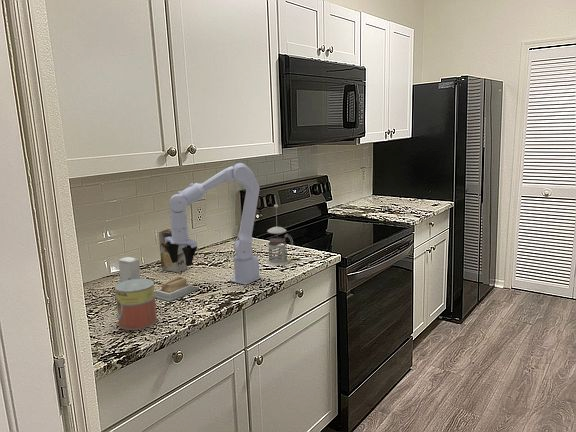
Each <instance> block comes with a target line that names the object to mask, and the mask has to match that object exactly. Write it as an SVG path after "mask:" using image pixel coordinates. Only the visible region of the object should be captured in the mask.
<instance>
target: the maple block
mask: <svg viewBox="0 0 576 432" xmlns="http://www.w3.org/2000/svg"><path fill="white" fill-rule="evenodd" d="M187 283H188V282H187V278H186V277H182V276H177V277H174V278H171V279H169V280H166V281H163V282H161V288H162V291H163V292H167V293H171V292H174V291H176V290H179V289H181V288H184V287H186V286H187Z"/></svg>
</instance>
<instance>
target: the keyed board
mask: <svg viewBox="0 0 576 432" xmlns="http://www.w3.org/2000/svg"><path fill="white" fill-rule="evenodd" d="M199 290H200V287H199V288H198V287H194V284H192V283H188V282H187V286H186V287H184V288H181V289H179V290H176V291H174V292H171V293H167V292H163V291H162V287H161V288H159V289H158V288H157V289H156V290H155V289H154V292H155V299H158V300H161V301H164V302H168V303H170V302H173V301H175V300H177V299H180V298H182V297H184V296H187V295H189V293H190V294H192V293H194V292H196V291H199Z"/></svg>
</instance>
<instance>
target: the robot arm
mask: <svg viewBox="0 0 576 432" xmlns="http://www.w3.org/2000/svg"><path fill="white" fill-rule="evenodd" d="M234 180H235V181H236V182H238V183H239V184H240V185H242V186H243V188H244V189H245V195H244V202H243V207H242V208H243V209H242V212H241V213H242V214H241V221H240V225H239V232H238V234H237V238H236V240H235V241H234V243H233V248H234V251H235V254H234V256H233V267H234V269H233V270H234V278H231V279H229V282H232V283H237V284H241V285H245V286H246V285H248V284H251V283H253V282H255V281H257V280H260V279H261V278H262V276H261V275H260V263H259V262H260V261H259V258H258V257H257V256H256V255H254V254H253V251H254V250H253V248H252V243H253V238H252V237H253V231H254V226H255V225H254V224H255V219H256V212H257V207H258V201H259V196H260V195H259V194H260V189H261V188H260V184H259V183H258V180H257V178H256V176H255V174H254V172H253V171H252V169H250V167H249V166H247V165H246V163H243V162H237V163H235V164H234V165H231V166H229V167H227V168H224V169H222V170H221V171H219V172H218V173H216V174H215V175H213V176H211V177H210V178H209V179H207V180H205V181H203V182H202V183H199V182H195V183H193V182H192V183H191V182H190V184H189V186H188V187H187V188H184V189H183V190H178V192H177V194H176V193H175V194H173V195H172V196H171V197H170V198H169V201H168V206H169V208H170V212H169V213H170V227H171V228H170V229H171V231H172V237H166V238H165V243H167V244H166V245H164V246H165V248H166V250H167V251H168V253H169V255H170V258H171V261H172V263H175V262H177V261H178V247H179V245H184V246H186V247H184V248H182V250H183V252H184V255H185V260H186V265H187V267H190V266H192V265H193V260H194V257H195V254H196V251H197V249H198V246H197V245H198V244H197V241H196V240H193V239H190V238H189V229H188V217H187V213H186V211H187V210H186V207H187V206H191V205H193V204H194V203H196V202H198V201H199V200H201V199H203V198H204V197H205V196H206V192H207V191H210V190H211V189H213V188H214V187H216V186H219V185H220V184H222V183H224V182H234Z"/></svg>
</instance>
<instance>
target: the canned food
mask: <svg viewBox="0 0 576 432" xmlns="http://www.w3.org/2000/svg"><path fill="white" fill-rule="evenodd" d="M114 289H115V301H116V310H117V319H118V324H117V325H118V327H119V328H120V329H122V330H127V331H136V330H143V329H146V328H149V327H151V326H153V325H154V324H156V323H157V321H158V317H157V308H156V307H157V306H156V305H157V304H156V298H155V281H154V280H152V279H150V278H143V277H142V278H141V277H140V278H139V279H130V280H126V281H123V282H120V281H119V282H118V283H117V284H115V286H114Z"/></svg>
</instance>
